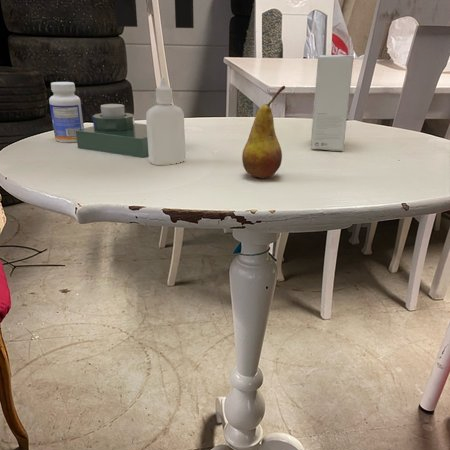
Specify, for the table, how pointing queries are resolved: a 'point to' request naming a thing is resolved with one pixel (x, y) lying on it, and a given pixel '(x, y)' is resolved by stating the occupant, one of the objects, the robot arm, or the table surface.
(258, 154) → the fruit
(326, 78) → the cosmetic box
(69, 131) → the pill bottle
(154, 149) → the eye dropper bottle
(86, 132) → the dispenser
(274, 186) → the table surface
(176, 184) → the table surface
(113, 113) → the pump button
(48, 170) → the table surface
